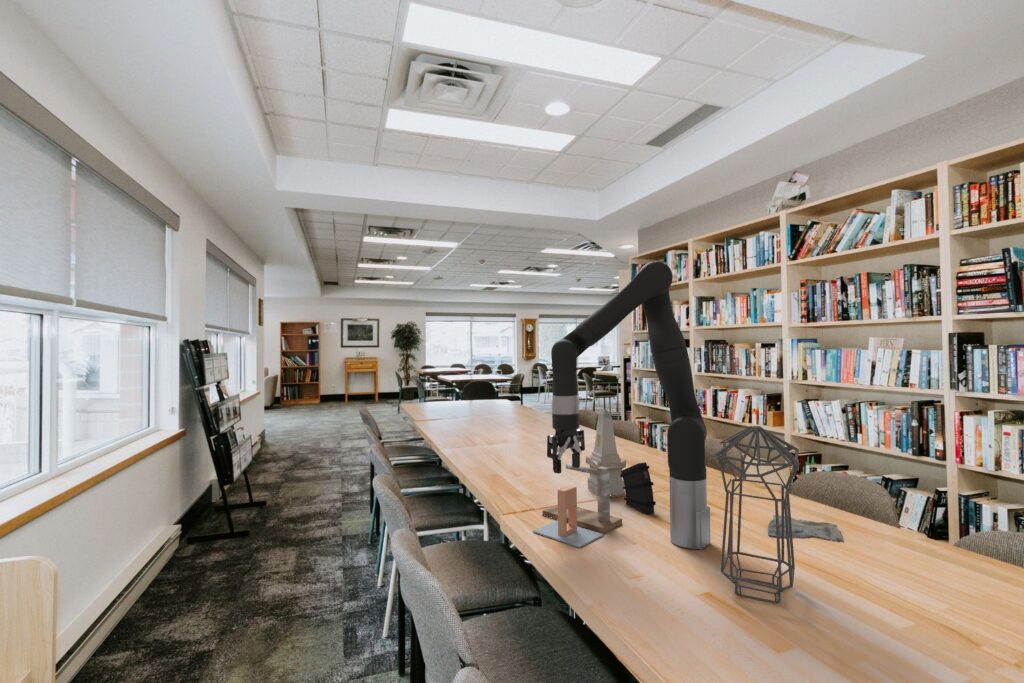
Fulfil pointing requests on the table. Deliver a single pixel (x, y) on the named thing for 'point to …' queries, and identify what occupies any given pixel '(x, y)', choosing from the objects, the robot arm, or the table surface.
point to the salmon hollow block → (566, 501)
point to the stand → (602, 518)
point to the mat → (575, 538)
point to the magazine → (638, 488)
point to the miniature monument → (606, 456)
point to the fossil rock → (807, 529)
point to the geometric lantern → (784, 502)
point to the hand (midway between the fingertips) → (567, 470)
